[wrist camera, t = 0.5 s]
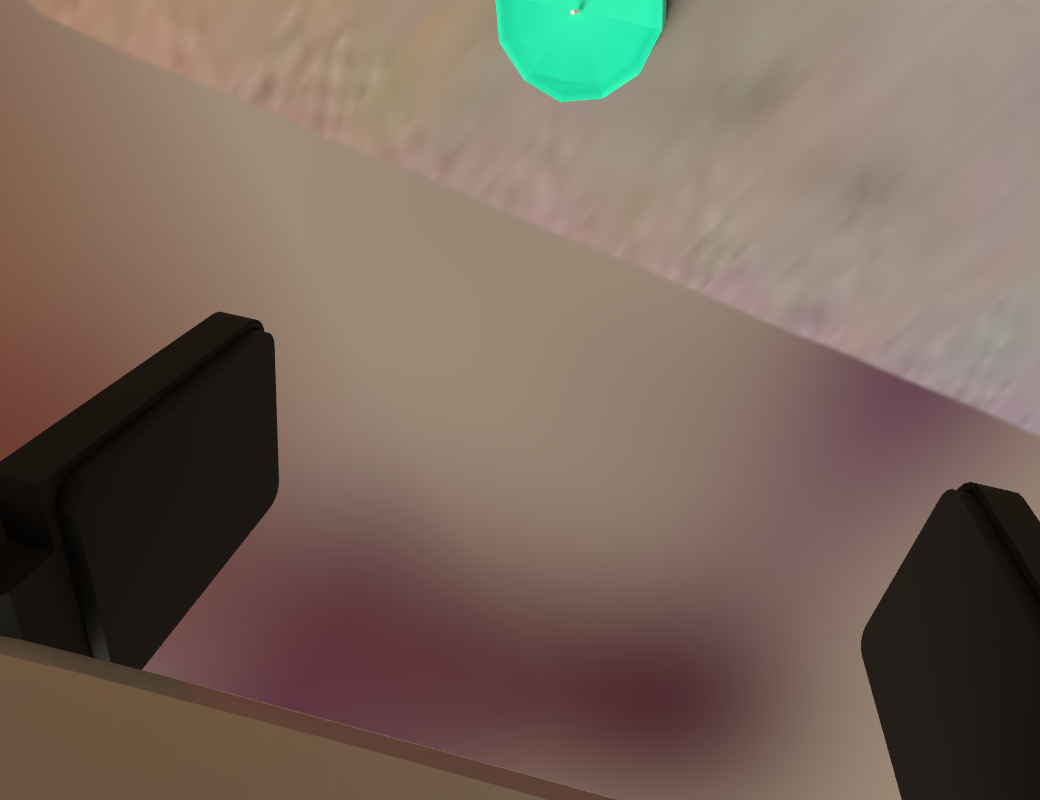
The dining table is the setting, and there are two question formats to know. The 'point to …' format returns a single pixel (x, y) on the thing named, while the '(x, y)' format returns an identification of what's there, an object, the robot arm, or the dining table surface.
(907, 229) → the dining table surface
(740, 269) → the dining table surface
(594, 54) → the candle
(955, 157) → the dining table surface
